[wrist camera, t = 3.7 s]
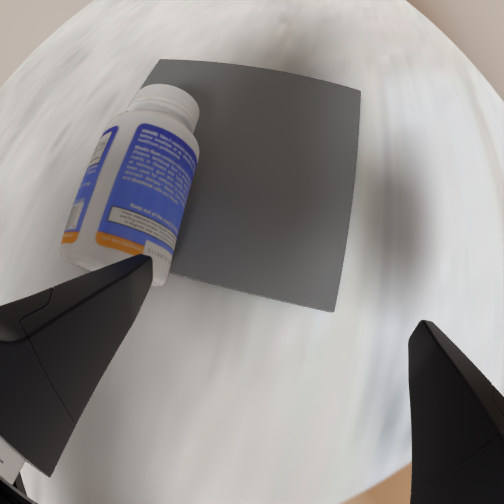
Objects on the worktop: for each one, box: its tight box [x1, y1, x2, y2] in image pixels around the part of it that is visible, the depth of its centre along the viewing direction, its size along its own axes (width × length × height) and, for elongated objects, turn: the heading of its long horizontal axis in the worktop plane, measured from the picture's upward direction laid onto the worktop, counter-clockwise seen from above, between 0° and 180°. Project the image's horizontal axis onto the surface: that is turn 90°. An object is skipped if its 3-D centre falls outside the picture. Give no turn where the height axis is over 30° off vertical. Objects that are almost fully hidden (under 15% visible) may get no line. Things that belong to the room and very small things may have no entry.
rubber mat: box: [141, 59, 361, 312], centre depth 18 cm, size 16×16×1 cm
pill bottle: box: [60, 84, 199, 286], centre depth 14 cm, size 5×5×10 cm
